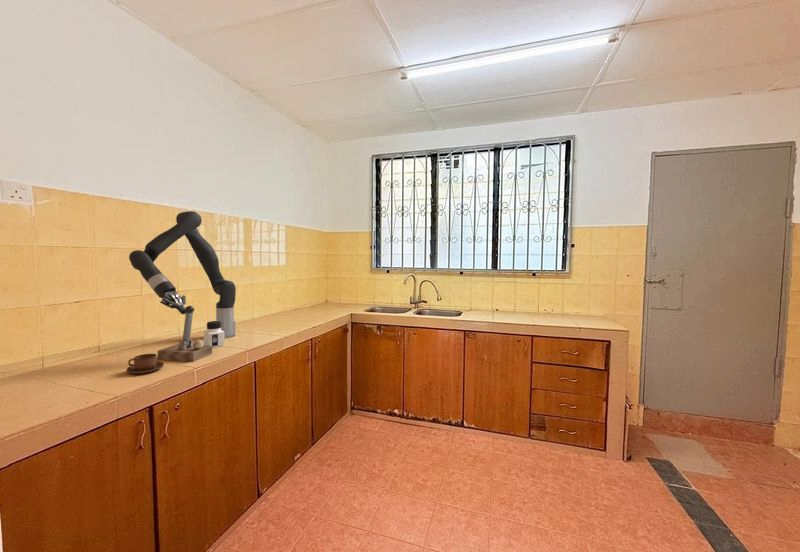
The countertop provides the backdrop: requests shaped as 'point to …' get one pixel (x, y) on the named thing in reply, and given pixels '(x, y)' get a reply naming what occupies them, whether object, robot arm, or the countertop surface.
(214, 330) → the container
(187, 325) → the lever
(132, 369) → the cup and saucer
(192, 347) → the bench block
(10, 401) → the countertop surface
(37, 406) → the countertop surface
